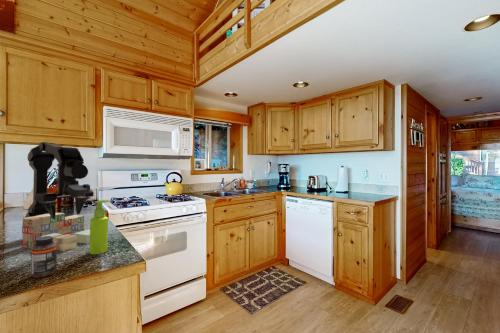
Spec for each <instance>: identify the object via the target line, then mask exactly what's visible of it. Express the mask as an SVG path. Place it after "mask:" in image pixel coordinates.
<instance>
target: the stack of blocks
mask: <svg viewBox="0 0 500 333" xmlns="http://www.w3.org/2000/svg"><path fill="white" fill-rule="evenodd" d="M55 213H56V215H55V219H52V218H51V216H50V214H43V215H38V216H33V217H27V218H25V217H23V218H22V226H21V234H22V235H21V236H22V239H21V240H22V244H21V245H22V246H21V248H22V249H30V250H31V249H32V247H33V246H35V244H36V239H37V238H39V237H40V236H44V235H48V234H52V233H58V234H62V236H63V235H67V234H70V235H74V233H77V232H81V231H84V230H85V215H80V214H74V215H68V216H66V212H65V213H64V212H56V211H55Z"/></svg>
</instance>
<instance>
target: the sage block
mask: <svg viewBox="0 0 500 333" xmlns="http://www.w3.org/2000/svg"><path fill="white" fill-rule="evenodd" d="M74 235H77V244H78V243H80V244H86V245H87V244H90V228H88V229H84V231H81V232H77V233H74Z"/></svg>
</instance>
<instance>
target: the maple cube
mask: <svg viewBox="0 0 500 333" xmlns="http://www.w3.org/2000/svg"><path fill="white" fill-rule="evenodd" d="M55 243H56V244H57V251H58V250H60V251H59V252H63V251H64V252H66V250H67V251H69V249H70V250H73V249H76V248H77V244H78V242H77V235H70V234H67V235H63V236H59V237H55Z"/></svg>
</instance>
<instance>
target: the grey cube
mask: <svg viewBox="0 0 500 333" xmlns="http://www.w3.org/2000/svg"><path fill="white" fill-rule="evenodd" d="M44 236H52V237H53V242H54V243H55V237H59V236H62V234H58V233H52V234H48V235H44ZM44 236H40V237H44Z"/></svg>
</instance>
